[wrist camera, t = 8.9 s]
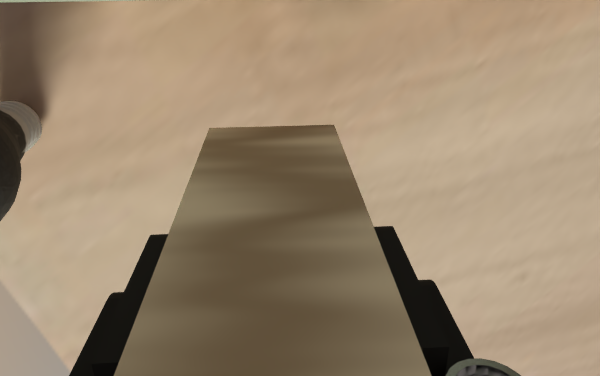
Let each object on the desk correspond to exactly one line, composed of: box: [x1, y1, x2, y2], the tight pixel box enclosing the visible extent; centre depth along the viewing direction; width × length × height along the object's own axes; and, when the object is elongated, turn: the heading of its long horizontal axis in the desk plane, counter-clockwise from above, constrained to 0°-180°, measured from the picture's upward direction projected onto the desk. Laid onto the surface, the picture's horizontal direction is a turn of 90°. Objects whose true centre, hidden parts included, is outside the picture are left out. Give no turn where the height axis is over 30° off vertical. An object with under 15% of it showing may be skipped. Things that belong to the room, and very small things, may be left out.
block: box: [114, 125, 431, 376], centre depth 11 cm, size 4×4×12 cm
